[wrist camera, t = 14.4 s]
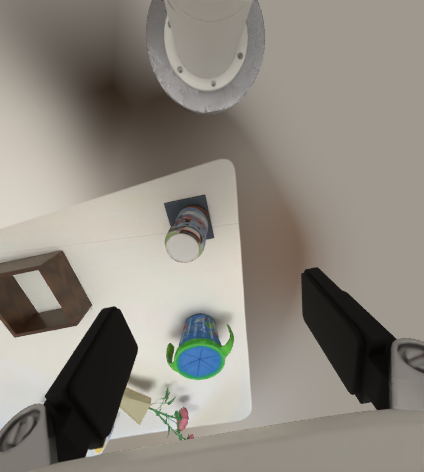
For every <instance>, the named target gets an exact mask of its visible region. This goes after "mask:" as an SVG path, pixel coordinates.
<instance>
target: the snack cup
mask: <svg viewBox="0 0 424 472" xmlns="http://www.w3.org/2000/svg"><path fill="white" fill-rule="evenodd" d="M227 327H228V329H229V333H230V339H229V340H228V342H227V343H226V345H224V346H222V345H221V343H220V341H219V338H218V334H217V330H216V326H215V324H214V321H213V320H212V319H211V318H210V317H208V316H206V315H203V314H199V315H195V316H192V317H191V318H188V320H187V321H186V323H185V326H184V329H183V332H182V337H181V339H180V343H179V347H178V349H177V351H176V353H175V357H174V362H173V363H172V357H173V353H174V346H173V345H172V344H171V343H169V345H168V347H167V354H166V357H167V362H168V364H169V365H170V367H171V368H172V369H173V370H174V371H176V372H178V373H180V374H181V375H182V376H184V377H186V378H189V379H195V380H202V379H208V378H211V377H213V376H215V375H216V374H218V373H219V372H220V371H221V370H222V368H223V367H224V364H225V358H226V356H227V355H228V354H229V353H230V351H231V349H232V347H233V342H234V336H233V333H232V330H231V328H230V326H229V325H228V324H227Z"/></svg>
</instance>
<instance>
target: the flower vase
mask: <svg viewBox="0 0 424 472" xmlns="http://www.w3.org/2000/svg"><path fill="white" fill-rule="evenodd" d="M169 393H170V392H169ZM168 395H169V394H168V388H167V391H166V396H165V399H166V400H165V403H166V401H167V399H168ZM162 399H164V398H162ZM174 399H175V398H174ZM174 399H172V400H171V401H170V402H168V403H167V404H168V405H170V404H171V403H172V402H173V400H174ZM153 404H154V403H153ZM162 404H163V403H162ZM150 405H152V404H151V398H150V397H147V396H145V395H143V394H140V393H138V392H136V391H133V390H131V389H129V388H126V389H125V392H124V395H123V398H122V401H121V404H120V408H121V409H122V410H123V411H124V412H126V413H127V414H128V415H129V416H130V417H131V418H132V419H133V420H135V421H136V422H137V423H138V424H139V425H140V423H141V422H142V420H143V418H144V416H145V414H146V412H147V410H148V409H150V410H153V411H155V412H156V413H157V412H158V413H157V414H156V415H157V416H158V415H159V413H160V414H162V415H164V416H166V421H165V420H164V419H163V418H162V417H161V416H160V415H159V417H160V418H161V420H162V421H163V422H165V424H167V425H168V426H169V424H168V423H167V418H168V417H171V418H175V419H177V422H175V423H176V424H177V428H178V429H177V432H178V434H179V433H180V431H182V430H184V429H185V427H186V425H187V423H188V419H189V417H188V411H187V409H186V408H184V407H183V409H182V408H181V411H180V410H179V413H178V411H175V414H174V415H175V417H173V415H172V416H170V415H167V413H166V414H164V413H162V412H160V411H157V409H156V410H155V409H152V408H150ZM160 407H161V406H160ZM160 407H159V408H160ZM160 410H161V409H160ZM167 416H168V417H167ZM178 416H179V417H178ZM169 419H170V418H169ZM170 420H171V419H170ZM172 421H173V420H172ZM173 422H174V421H173ZM170 428H171V427H170V426H169V427H168V430H169V431H170ZM171 430H172V431H173V432H174V433H175V434H176V435H178V434H177V433H176V432H175V431H174V430H173V429H172V428H171ZM168 435H169V434H168ZM178 436H179V439H180V440H182V439H184V440H186V439H185V438H183V437H182V434H181V435H180V434H179V435H178ZM192 438H194V437H193V435H190V436H188V437H187V439H192Z"/></svg>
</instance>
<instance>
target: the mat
mask: <svg viewBox="0 0 424 472" xmlns="http://www.w3.org/2000/svg"><path fill="white" fill-rule="evenodd" d="M164 205H165V208H166V212H167V215H168V218H169V222H170V225H171V227H172V225H173V223H174V222H175V220H176V218H177V217H178V215H179V213H180V211H181V210H182V209H183V208H185V207H187V206H190V205H196V206H199V207H201V208H203V209H204V210H205V211H206V212H207V214H208V216H209V211H208V206H207V202H206V197H205V195H202V196H197V197H192V198H187V199H183V200H178V201H173V202H168V203H164ZM211 238H214V235H213V230H212V225H211V220H210V216H209V227H208V231H207V236H206V239H211Z"/></svg>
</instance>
